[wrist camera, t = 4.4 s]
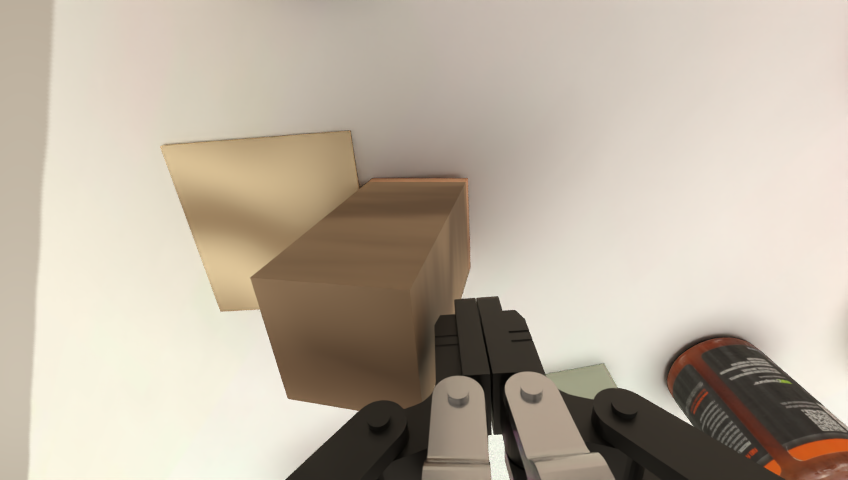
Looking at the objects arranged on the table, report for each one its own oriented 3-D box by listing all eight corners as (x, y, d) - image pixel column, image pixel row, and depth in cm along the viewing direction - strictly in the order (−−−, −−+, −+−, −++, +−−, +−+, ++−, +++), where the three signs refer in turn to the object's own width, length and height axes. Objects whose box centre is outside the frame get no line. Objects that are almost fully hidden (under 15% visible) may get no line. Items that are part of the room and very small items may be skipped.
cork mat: (163, 144, 20) (160, 146, 19) (350, 130, 19) (349, 131, 19) (222, 308, 24) (220, 311, 24) (376, 299, 24) (375, 302, 23)
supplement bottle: (670, 411, 27) (814, 622, 17) (654, 350, 25) (810, 554, 15) (761, 385, 26) (974, 595, 16) (753, 319, 24) (995, 516, 14)
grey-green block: (527, 376, 26) (554, 460, 21) (603, 363, 26) (650, 446, 20) (537, 426, 28) (562, 515, 23) (607, 415, 28) (650, 502, 22)
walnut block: (372, 178, 20) (250, 277, 12) (467, 178, 19) (409, 290, 10) (383, 262, 22) (287, 398, 14) (470, 267, 21) (424, 421, 12)
